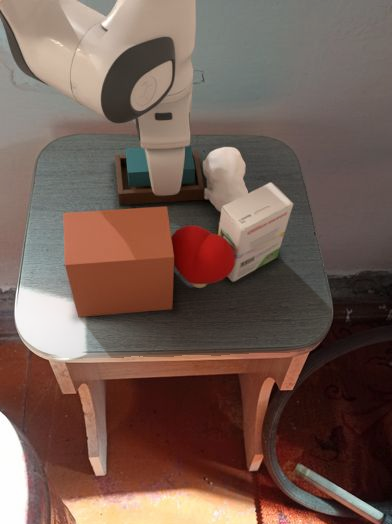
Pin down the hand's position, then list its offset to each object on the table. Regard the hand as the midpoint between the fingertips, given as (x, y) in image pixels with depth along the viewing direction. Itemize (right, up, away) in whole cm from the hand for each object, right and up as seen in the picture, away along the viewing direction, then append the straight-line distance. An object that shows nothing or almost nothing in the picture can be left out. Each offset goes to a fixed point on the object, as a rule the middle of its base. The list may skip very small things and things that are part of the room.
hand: (159, 170), depth 87 cm
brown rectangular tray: (0, -1, +2) cm, 3 cm away
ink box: (+13, -14, -3) cm, 20 cm away
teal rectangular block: (0, 0, +1) cm, 1 cm away
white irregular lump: (+10, -6, +1) cm, 12 cm away
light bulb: (+6, -18, -6) cm, 20 cm away
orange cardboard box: (-5, -19, -7) cm, 21 cm away
